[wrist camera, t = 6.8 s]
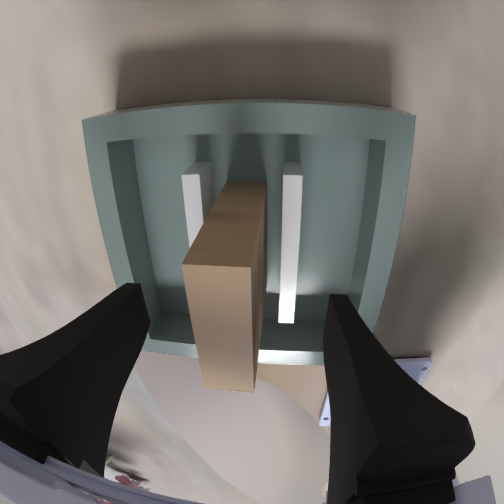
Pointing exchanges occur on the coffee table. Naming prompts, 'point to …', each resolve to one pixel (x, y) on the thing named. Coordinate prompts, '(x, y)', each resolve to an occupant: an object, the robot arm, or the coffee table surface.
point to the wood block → (229, 286)
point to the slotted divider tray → (278, 206)
